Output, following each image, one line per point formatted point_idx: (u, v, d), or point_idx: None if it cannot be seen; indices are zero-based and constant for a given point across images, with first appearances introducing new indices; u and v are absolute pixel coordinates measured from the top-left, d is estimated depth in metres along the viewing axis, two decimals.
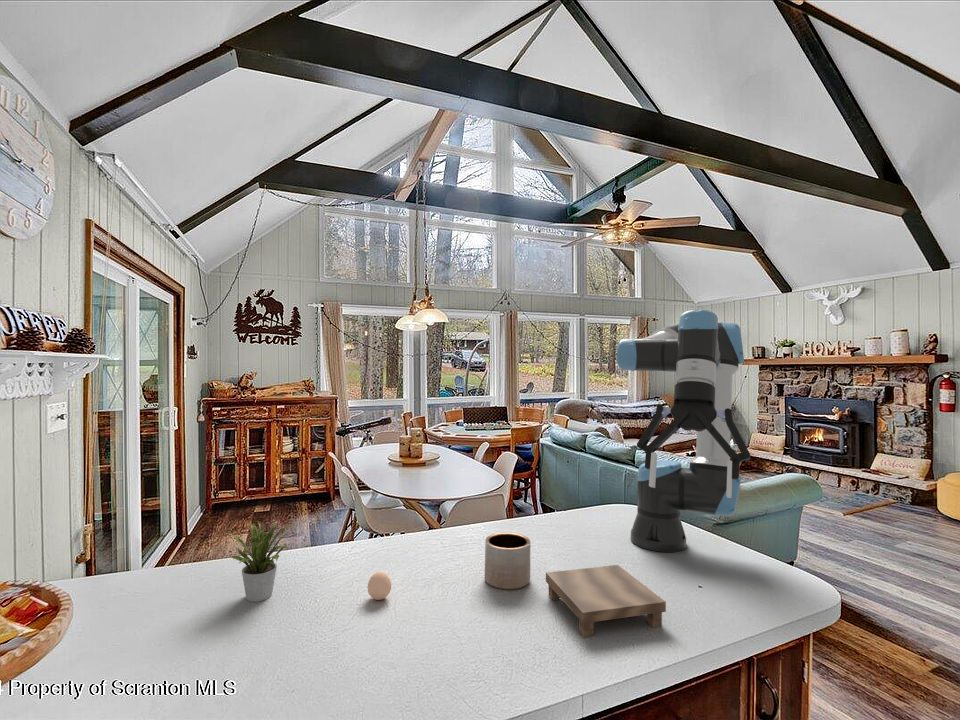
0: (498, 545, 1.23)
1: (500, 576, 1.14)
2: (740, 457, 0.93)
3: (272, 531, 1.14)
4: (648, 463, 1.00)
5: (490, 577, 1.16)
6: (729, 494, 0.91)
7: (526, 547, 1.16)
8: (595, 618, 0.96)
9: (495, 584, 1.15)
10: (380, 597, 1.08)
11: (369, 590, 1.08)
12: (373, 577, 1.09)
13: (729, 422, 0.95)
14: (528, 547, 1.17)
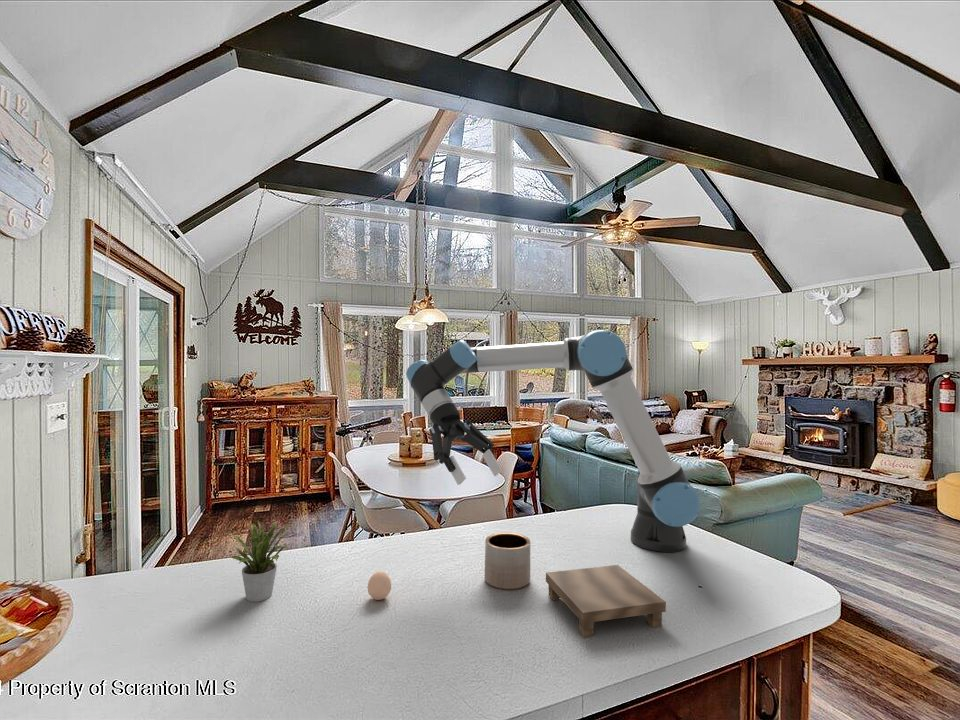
0: (498, 545, 1.23)
1: (500, 576, 1.14)
2: None
3: (272, 531, 1.14)
4: None
5: (490, 577, 1.16)
6: (457, 483, 1.21)
7: (526, 547, 1.16)
8: (595, 618, 0.96)
9: (495, 584, 1.15)
10: (380, 597, 1.08)
11: (369, 590, 1.08)
12: (373, 577, 1.09)
13: None
14: (528, 547, 1.17)
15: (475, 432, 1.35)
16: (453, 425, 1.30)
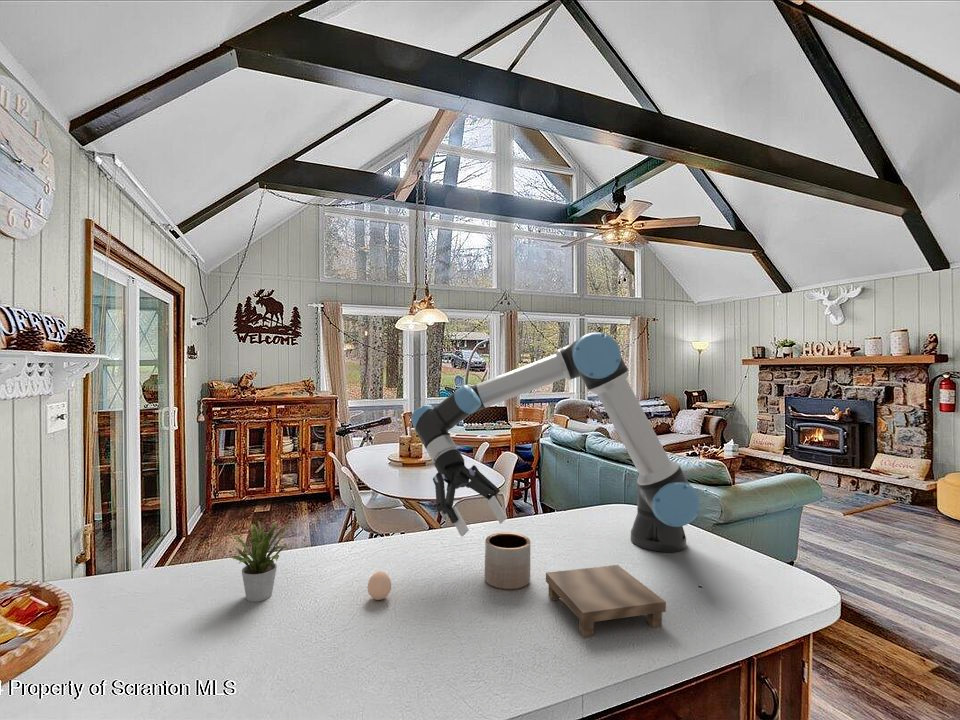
0: (498, 545, 1.23)
1: (500, 576, 1.14)
2: None
3: (272, 531, 1.14)
4: None
5: (490, 577, 1.16)
6: None
7: (526, 547, 1.16)
8: (595, 618, 0.96)
9: (495, 584, 1.15)
10: (380, 597, 1.08)
11: (369, 590, 1.08)
12: (373, 577, 1.09)
13: None
14: (528, 547, 1.17)
15: (480, 478, 1.34)
16: (457, 473, 1.29)
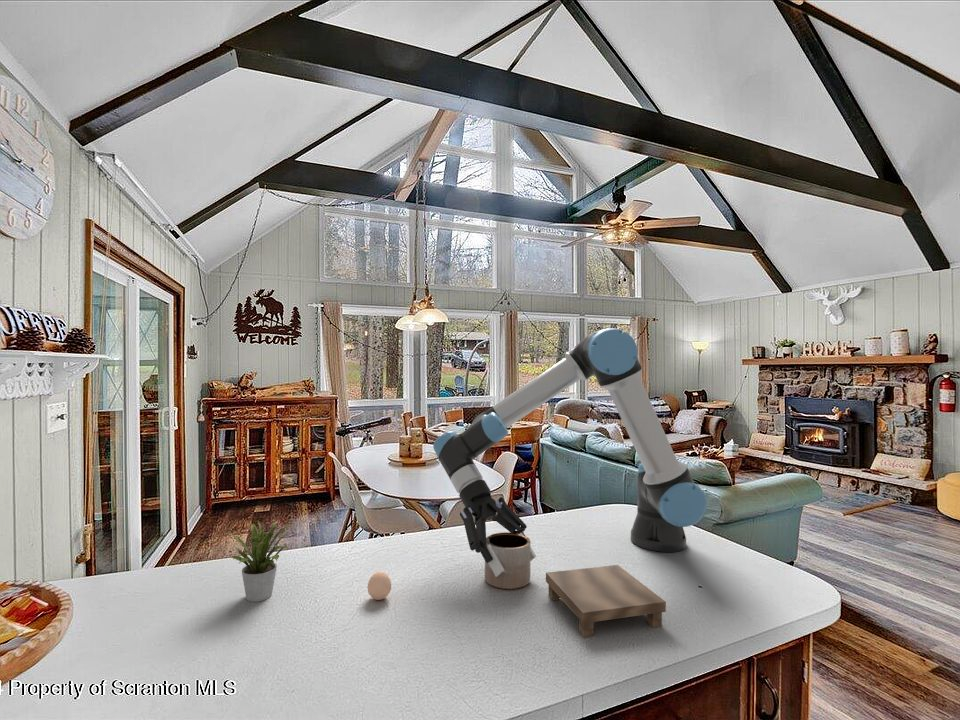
0: (498, 545, 1.23)
1: (500, 576, 1.14)
2: None
3: (272, 531, 1.14)
4: None
5: (490, 577, 1.16)
6: None
7: (526, 547, 1.16)
8: (595, 618, 0.96)
9: (495, 583, 1.15)
10: (380, 597, 1.08)
11: (369, 590, 1.08)
12: (373, 577, 1.09)
13: None
14: (528, 547, 1.17)
15: (507, 511, 1.28)
16: (484, 505, 1.23)
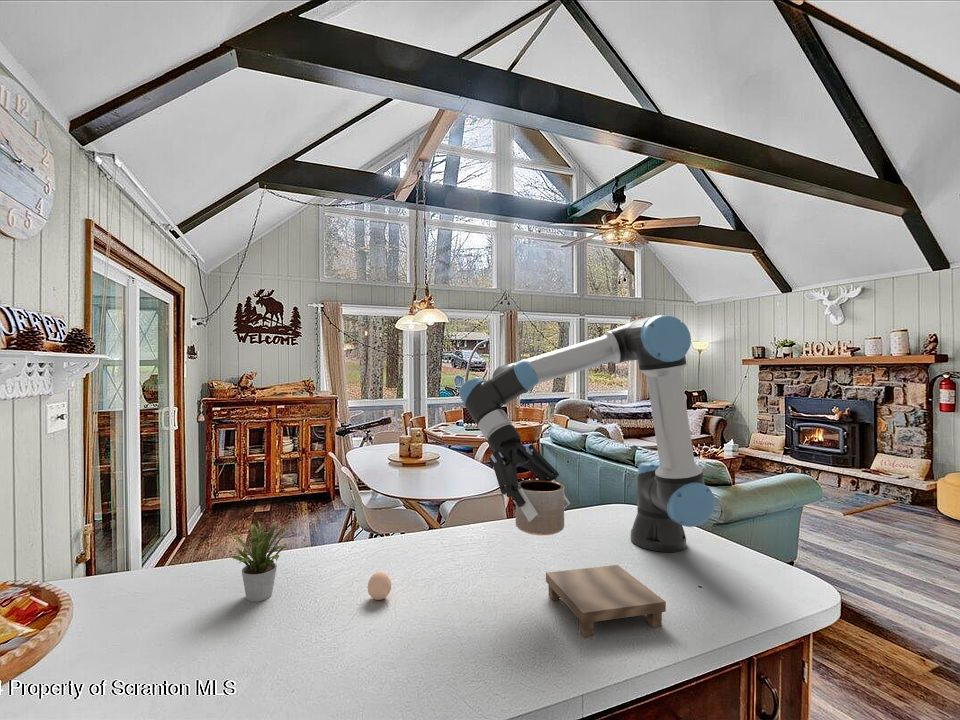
0: None
1: (533, 521, 1.08)
2: None
3: (272, 531, 1.14)
4: None
5: (522, 523, 1.10)
6: None
7: (560, 491, 1.09)
8: (595, 618, 0.96)
9: (527, 529, 1.09)
10: (380, 597, 1.08)
11: (369, 590, 1.08)
12: (373, 577, 1.09)
13: None
14: (562, 491, 1.10)
15: (538, 458, 1.21)
16: (514, 450, 1.17)
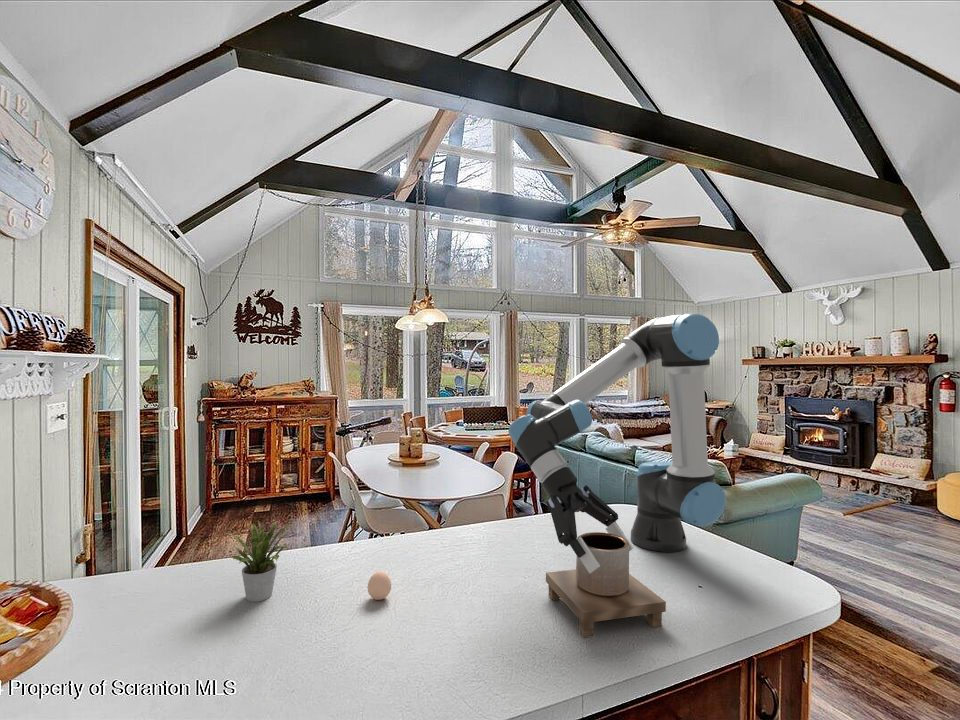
0: None
1: (599, 582, 1.01)
2: None
3: (272, 531, 1.14)
4: None
5: (585, 583, 1.03)
6: (589, 571, 1.00)
7: (626, 549, 1.03)
8: (595, 618, 0.96)
9: (592, 590, 1.02)
10: (380, 597, 1.08)
11: (369, 590, 1.08)
12: (373, 577, 1.09)
13: None
14: (628, 549, 1.03)
15: (595, 500, 1.15)
16: (573, 495, 1.10)
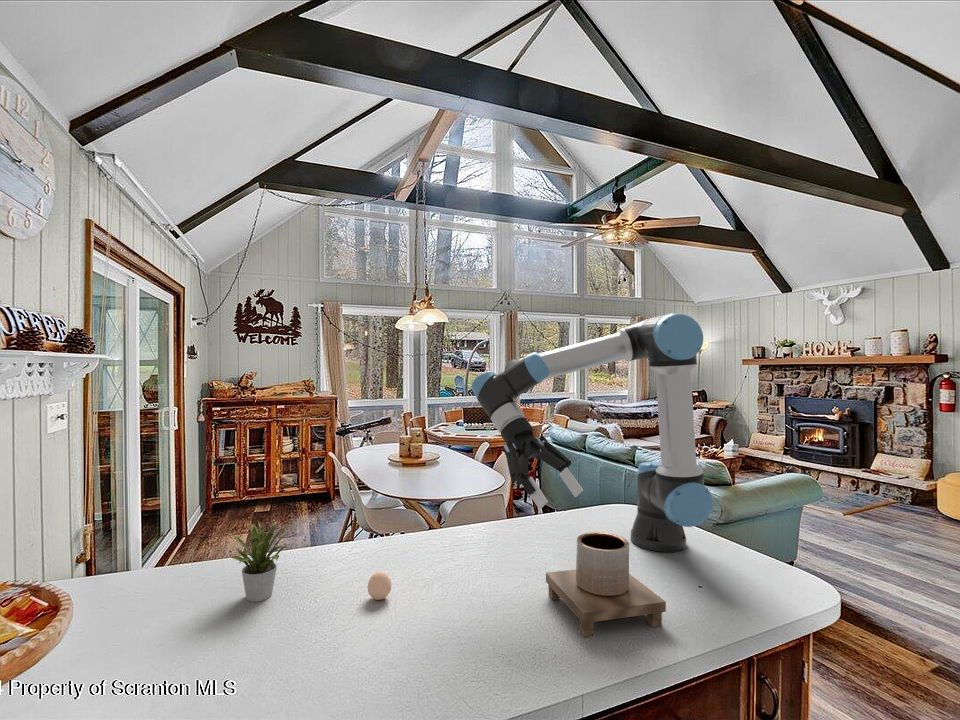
0: (588, 546, 1.10)
1: (599, 582, 1.01)
2: None
3: (272, 531, 1.14)
4: None
5: (585, 583, 1.03)
6: None
7: (626, 549, 1.03)
8: (595, 618, 0.96)
9: (592, 590, 1.02)
10: (380, 597, 1.08)
11: (369, 590, 1.08)
12: (373, 577, 1.09)
13: None
14: (628, 549, 1.03)
15: (550, 449, 1.24)
16: (528, 442, 1.19)
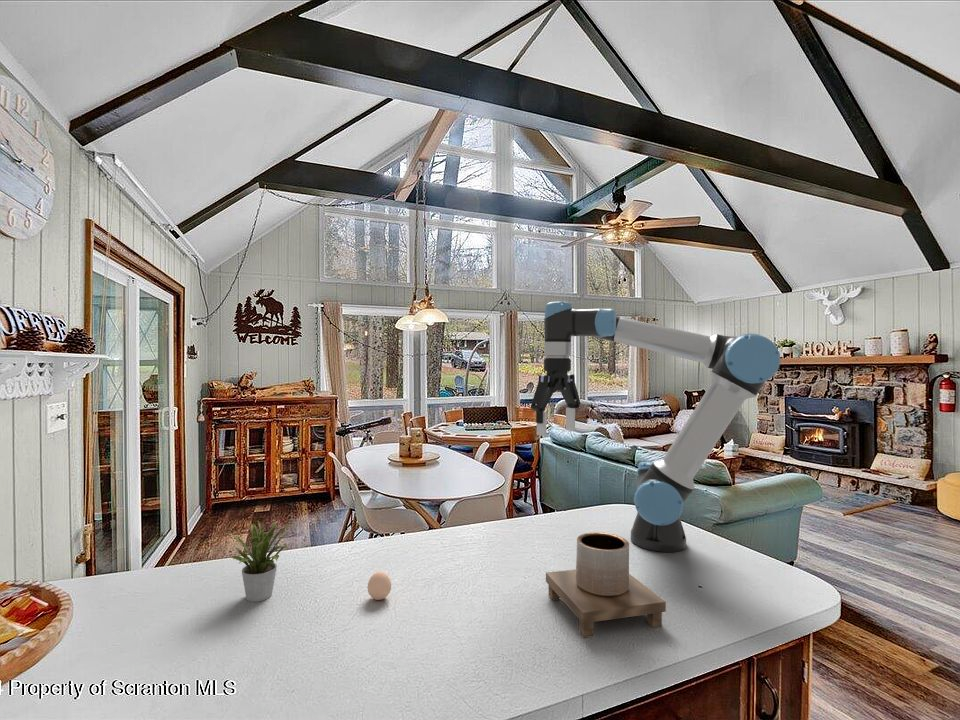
0: (588, 546, 1.10)
1: (599, 582, 1.01)
2: None
3: (272, 531, 1.14)
4: None
5: (585, 583, 1.03)
6: (537, 433, 1.38)
7: (626, 549, 1.03)
8: (595, 618, 0.96)
9: (592, 590, 1.02)
10: (380, 597, 1.08)
11: (369, 590, 1.08)
12: (373, 577, 1.09)
13: None
14: (628, 549, 1.03)
15: (572, 387, 1.46)
16: (560, 380, 1.39)
